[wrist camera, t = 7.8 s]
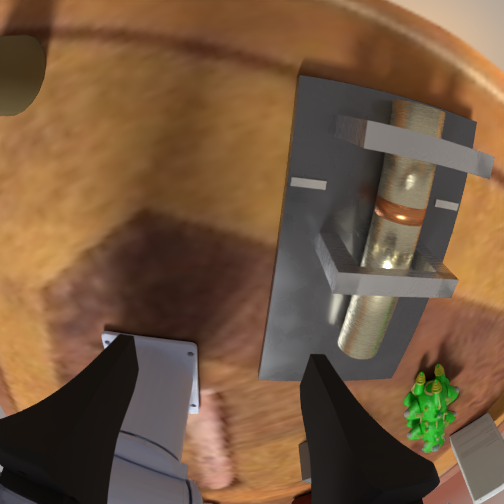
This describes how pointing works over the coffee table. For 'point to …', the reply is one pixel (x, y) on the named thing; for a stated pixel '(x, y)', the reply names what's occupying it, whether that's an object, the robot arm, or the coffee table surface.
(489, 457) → the supplement box
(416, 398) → the green bumpy long piece
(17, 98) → the cork
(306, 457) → the dice cube
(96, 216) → the coffee table surface
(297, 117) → the collar base
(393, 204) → the brass tube
